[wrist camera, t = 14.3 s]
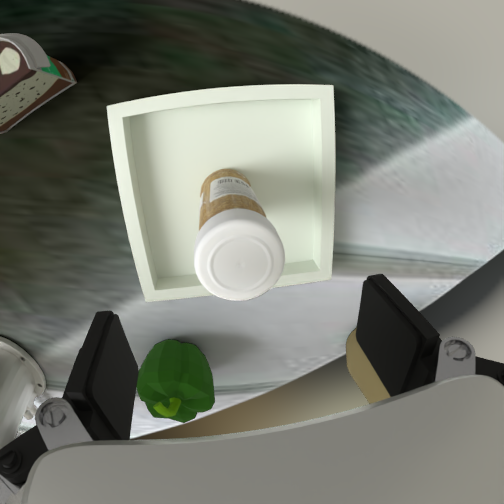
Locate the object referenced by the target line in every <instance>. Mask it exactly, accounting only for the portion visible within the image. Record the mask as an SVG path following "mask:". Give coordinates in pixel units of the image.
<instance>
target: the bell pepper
mask: <svg viewBox="0 0 504 504" xmlns="http://www.w3.org/2000/svg"><path fill="white" fill-rule="evenodd" d="M136 387H137V391H138V394H139V397H140V399H141V401H144V402H145V403H146V406H147V409H148V410H149V412H150V413H151V414H152V416H153V417H155V418H169V419H172V420H176V421H179V422H182V423H185V422H187V421H190V420H192V419H194V418H195V417H196V414H197V412H205V411H208V410H210V409H211V408H212V406H213V404H214V402H215V397H214V386H213V377H212V372H211V370H210V367H209V364H208V362H207V359H206V357H205V355H204V354H203V353H202V352H201V351H200V350H199V349H198V348H197V347H196V345H194V344H190V343H187V342H186V343H180V342H179V341H177V340H171V339H167V340H165V341H162V342H160V343H157V344H155V346H154V347H153V348H152V349H151V351H150V352H149V354H148V355H147V357H146V358H145V360H144V362H143V364H142V366H141V368H140V370H139V372H138V380H137V386H136Z"/></svg>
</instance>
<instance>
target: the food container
mask: <svg viewBox="0 0 504 504" xmlns="http://www.w3.org/2000/svg"><path fill="white" fill-rule="evenodd" d="M76 83H77V81H76V78H75V76H74V74H73V72H72V71H71V70H70V69H69V68H68V67H67V66H66V65H65V64H64V63H62V62H60V61H58V60H56V59H54V58H52V57H49V56H47V55H46V54H45V52H44V51H43V49H42V48H41V47H40V46H39V45H38V44H37V43H36V42H35V41H34V40H33V39H31V38H29V37H28V36H25V35H22V34H16V33H8V34H0V134H1V133H5V132H7V131H8V130H10V129H11V128H12V127H13V126H15V125H16V124H17V123H19V122H20V121H21V120H23V119H24V118H25V117H27V116H28V115H29V114H31V113H32V112H33V111H35V110H36V109H38V108H39V107H40V106H42V105H43V104H45V103H46V102H48V101H49V100H51V99H52V98H54V97H55V96H57V95H58V94H60V93H61V92H63V91H65V90H66V89H68V88H69V87H71V86H73V85H74V84H76Z"/></svg>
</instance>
